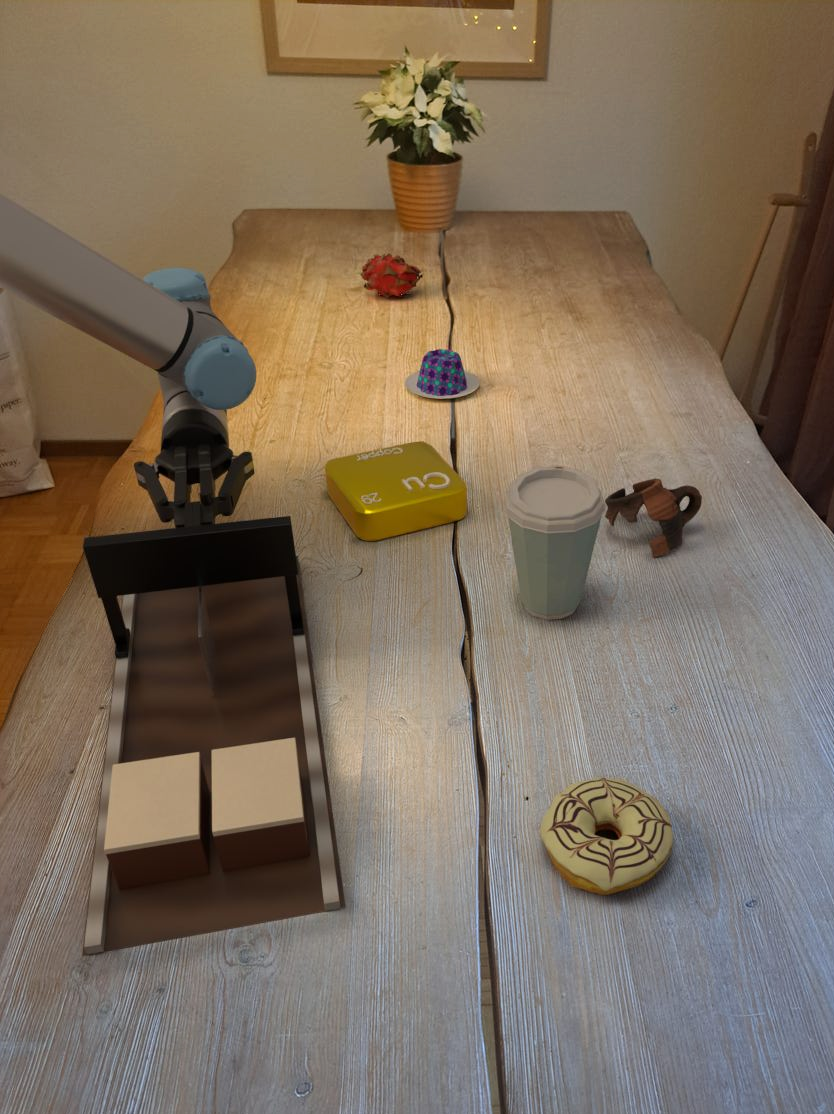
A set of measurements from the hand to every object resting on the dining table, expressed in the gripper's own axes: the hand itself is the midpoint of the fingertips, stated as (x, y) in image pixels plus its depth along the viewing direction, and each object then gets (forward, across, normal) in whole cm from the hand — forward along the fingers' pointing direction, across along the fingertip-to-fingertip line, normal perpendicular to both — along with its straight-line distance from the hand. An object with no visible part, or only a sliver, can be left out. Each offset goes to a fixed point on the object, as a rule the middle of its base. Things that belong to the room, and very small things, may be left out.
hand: (194, 547), depth 92 cm
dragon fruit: (-102, -35, -13) cm, 109 cm away
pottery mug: (-11, -53, -13) cm, 56 cm away
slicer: (+5, 0, -11) cm, 12 cm away
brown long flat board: (+12, 0, -12) cm, 17 cm away
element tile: (-25, -23, -13) cm, 36 cm away
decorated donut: (+35, -32, -13) cm, 49 cm away
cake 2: (+27, -4, -11) cm, 29 cm away
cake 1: (+27, +4, -11) cm, 29 cm away
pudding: (-59, -36, -12) cm, 70 cm away
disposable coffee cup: (0, -36, -13) cm, 39 cm away
